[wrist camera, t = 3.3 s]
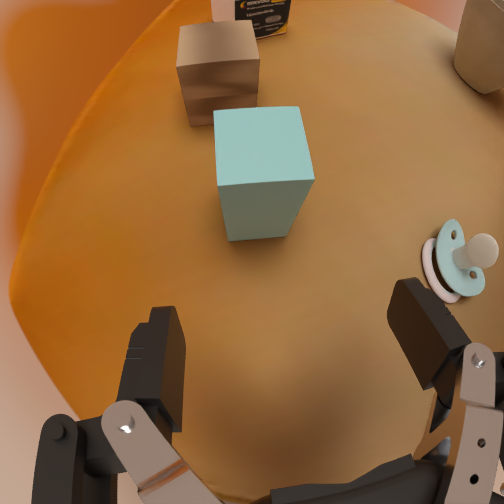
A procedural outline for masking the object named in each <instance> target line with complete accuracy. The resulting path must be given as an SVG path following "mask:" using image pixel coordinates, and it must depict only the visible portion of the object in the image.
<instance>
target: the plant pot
mask: <svg viewBox="0 0 504 504" xmlns="http://www.w3.org/2000/svg"><path fill="white" fill-rule="evenodd" d="M454 67H455V69H456V71H457V72H458V74H459V75H460V76H461V78H462V79H463V80H464V81H465V82H466V83H467V84H468V85H470V86H471V87H472V88H473V89H475V90H476V91H478V92H480V93H482V94H487V93H490V92H493V91H496V90H499V89H501V88H504V0H467V2H466V5H465V8H464V12H463V16H462V20H461V24H460V28H459V33H458V38H457V43H456V49H455V56H454Z"/></svg>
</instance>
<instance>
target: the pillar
mask: <svg viewBox="0 0 504 504" xmlns="http://www.w3.org/2000/svg"><path fill="white" fill-rule="evenodd" d="M214 132H215V151H216V169H217V185H218V191H219V196H220V202H221V207H222V212H223V217H224V223H225V228H226V233H227V238H228V242H229V241H240V240H251V239H262V238H273V237H285V236H286V235H287V233H288V232H289V230H290V228H291V226H292V224H293V222H294V220H295V218H296V216H297V214H298V212H299V210H300V208H301V206H302V204H303V202H304V200H305V198H306V196H307V194H308V192H309V190H310V188H311V186H312V184H313V182H314V180H315V177H314V172H313V168H312V163H311V158H310V154H309V149H308V144H307V140H306V136H305V131H304V127H303V123H302V119H301V115H300V111H299V107H298V106H288V107H256V108H240V109H227V110H216V111H214Z"/></svg>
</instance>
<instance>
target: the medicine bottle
mask: <svg viewBox="0 0 504 504" xmlns="http://www.w3.org/2000/svg"><path fill="white" fill-rule="evenodd" d="M290 4H291V0H211V6H212V19H213V22H222V21H237V20H251V21H252V25H253V30H254V34H255V39H259V38H263V37H267V36H272V35H277V34H281V33H285V32H286V31H287V24H288V17H289V10H290Z"/></svg>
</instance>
